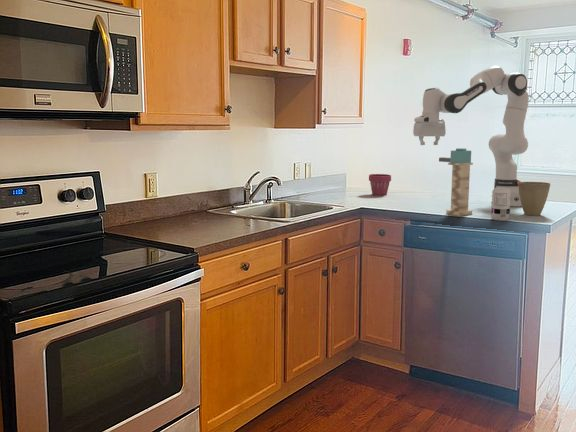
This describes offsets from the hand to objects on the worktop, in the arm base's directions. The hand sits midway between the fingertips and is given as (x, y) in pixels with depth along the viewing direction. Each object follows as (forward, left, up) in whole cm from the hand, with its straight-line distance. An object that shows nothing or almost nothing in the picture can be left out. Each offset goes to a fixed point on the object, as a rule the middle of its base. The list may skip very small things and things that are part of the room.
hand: (429, 145), depth 312 cm
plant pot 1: (+35, -47, -34) cm, 68 cm away
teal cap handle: (-14, +14, -8) cm, 21 cm away
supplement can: (-38, +27, -34) cm, 57 cm away
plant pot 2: (-53, +7, -34) cm, 63 cm away
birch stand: (-18, +17, -34) cm, 42 cm away
